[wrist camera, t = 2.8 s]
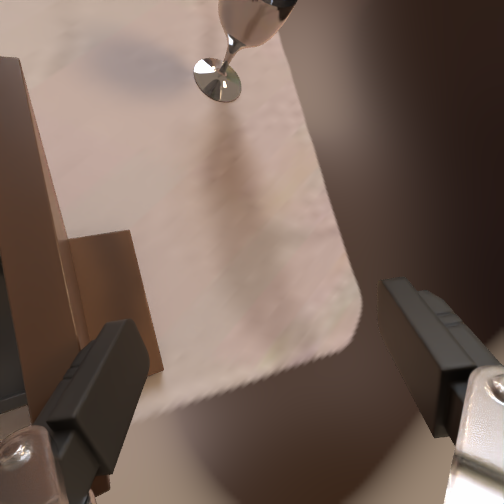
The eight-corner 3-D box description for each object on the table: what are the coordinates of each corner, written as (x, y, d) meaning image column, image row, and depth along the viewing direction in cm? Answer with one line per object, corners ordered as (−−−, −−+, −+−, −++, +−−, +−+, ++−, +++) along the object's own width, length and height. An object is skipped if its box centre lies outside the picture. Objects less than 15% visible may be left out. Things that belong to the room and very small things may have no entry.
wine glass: (205, 107, 44) (250, 6, 31) (181, 57, 44) (216, -64, 31) (252, 101, 48) (310, 9, 35) (230, 54, 48) (279, -54, 35)
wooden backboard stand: (-81, 457, 25) (-1096, 1094, 4) (-106, 269, 27) (-844, -11, 6) (162, 369, 33) (272, 409, 12) (128, 232, 35) (174, 69, 14)
